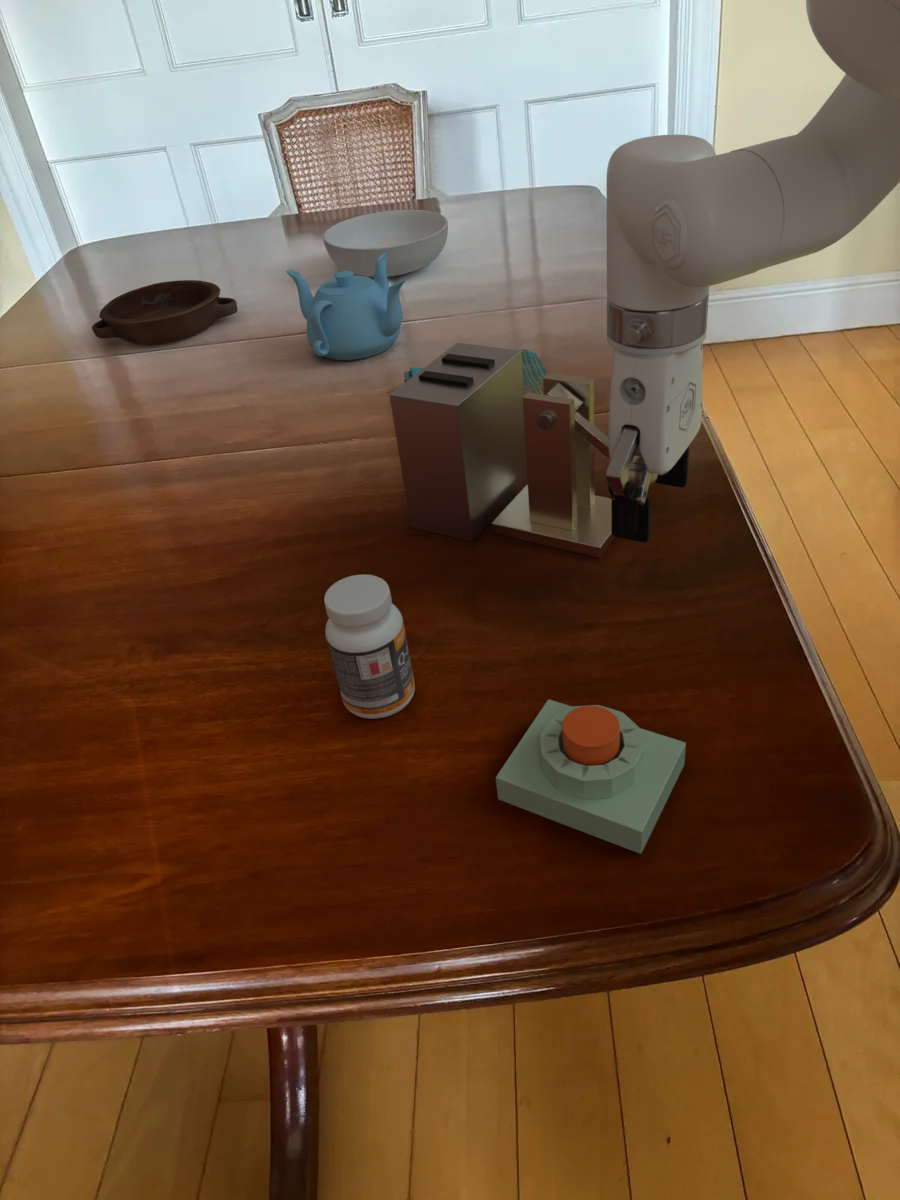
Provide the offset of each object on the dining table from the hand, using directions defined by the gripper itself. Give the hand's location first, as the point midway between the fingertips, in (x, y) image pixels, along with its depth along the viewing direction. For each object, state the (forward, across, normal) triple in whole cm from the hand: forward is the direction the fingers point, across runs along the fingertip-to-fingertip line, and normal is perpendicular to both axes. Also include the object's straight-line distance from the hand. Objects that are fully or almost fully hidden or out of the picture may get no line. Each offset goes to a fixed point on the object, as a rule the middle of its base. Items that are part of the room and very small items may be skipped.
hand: (650, 509), depth 79 cm
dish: (+3, +28, +89) cm, 93 cm away
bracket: (+4, 0, +9) cm, 9 cm away
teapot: (+3, +32, +55) cm, 63 cm away
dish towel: (+4, +18, +27) cm, 32 cm away
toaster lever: (-5, 0, +6) cm, 7 cm away
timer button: (0, -28, -6) cm, 29 cm away
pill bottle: (+4, -27, +12) cm, 30 cm away
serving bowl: (+3, +61, +69) cm, 92 cm away
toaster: (+3, 0, +19) cm, 19 cm away
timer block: (+4, -28, -6) cm, 29 cm away
